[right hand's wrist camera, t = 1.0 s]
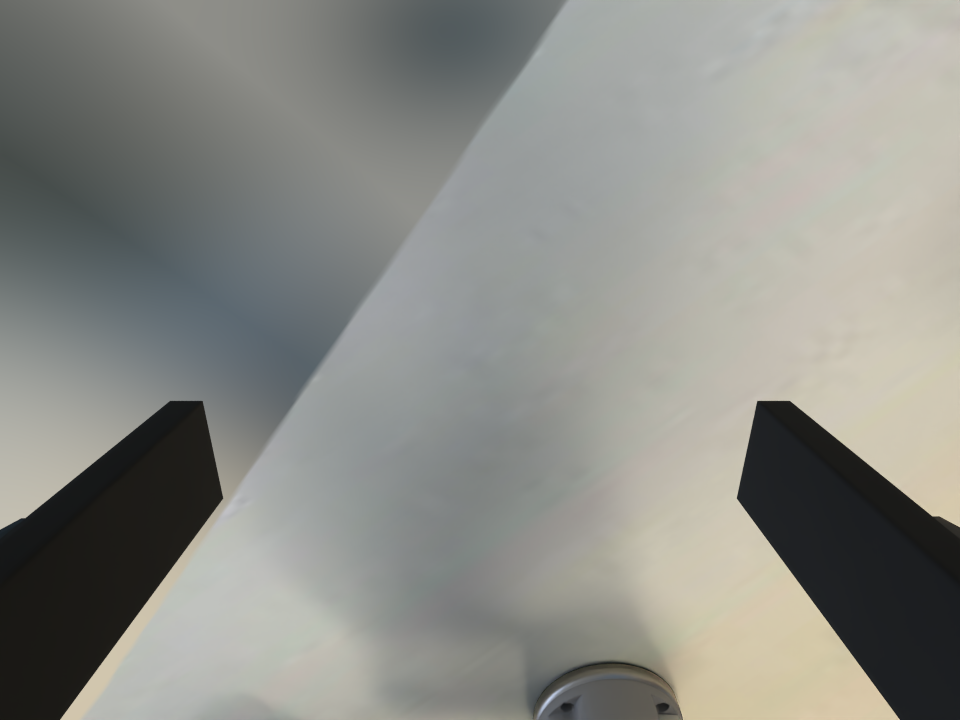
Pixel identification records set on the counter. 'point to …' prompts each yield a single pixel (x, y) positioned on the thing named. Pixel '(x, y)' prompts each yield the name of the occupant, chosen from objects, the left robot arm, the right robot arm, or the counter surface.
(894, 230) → the counter surface
